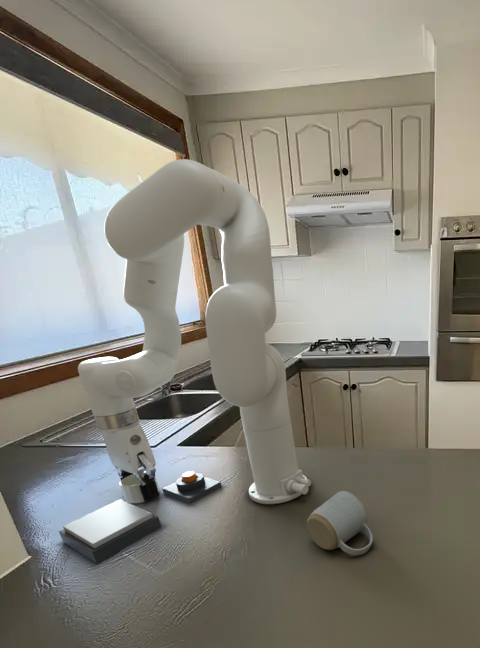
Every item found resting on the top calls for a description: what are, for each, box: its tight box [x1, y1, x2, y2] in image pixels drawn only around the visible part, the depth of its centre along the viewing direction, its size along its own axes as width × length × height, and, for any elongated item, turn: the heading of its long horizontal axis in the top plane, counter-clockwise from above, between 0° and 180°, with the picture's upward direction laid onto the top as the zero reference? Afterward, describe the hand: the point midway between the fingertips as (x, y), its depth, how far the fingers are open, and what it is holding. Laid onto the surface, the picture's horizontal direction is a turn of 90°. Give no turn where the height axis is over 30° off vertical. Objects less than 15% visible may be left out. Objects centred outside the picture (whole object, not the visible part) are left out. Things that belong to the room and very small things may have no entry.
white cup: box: [119, 471, 161, 504], centre depth 92 cm, size 7×7×5 cm
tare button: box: [181, 470, 197, 483], centre depth 93 cm, size 3×3×2 cm
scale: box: [58, 498, 162, 565], centre depth 79 cm, size 13×12×4 cm
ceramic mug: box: [306, 490, 374, 556], centre depth 71 cm, size 11×8×8 cm
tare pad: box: [162, 472, 222, 505], centre depth 94 cm, size 10×8×3 cm
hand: (142, 494), depth 93 cm, fingers closed on white cup, 6 cm apart
